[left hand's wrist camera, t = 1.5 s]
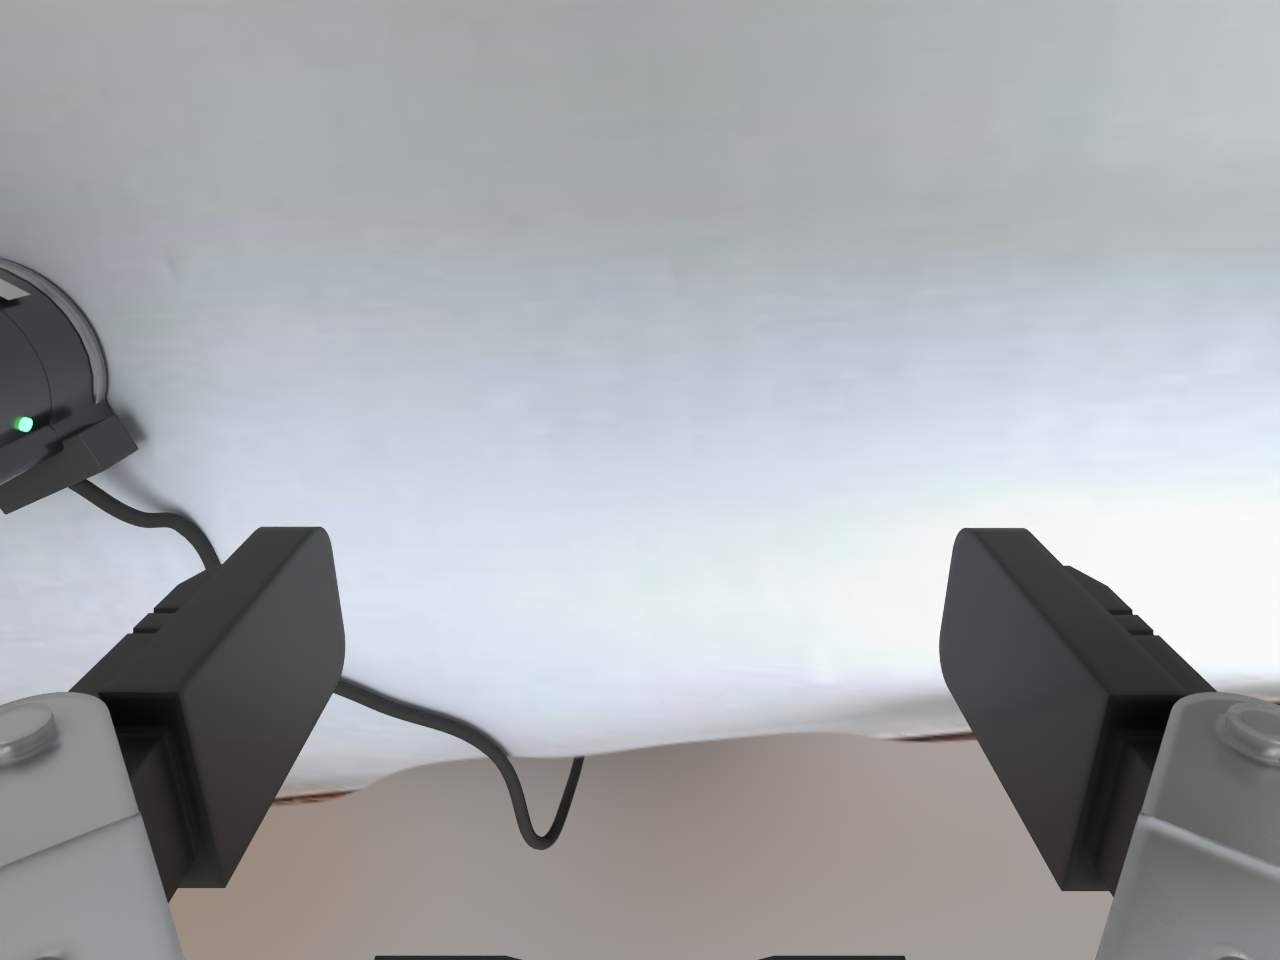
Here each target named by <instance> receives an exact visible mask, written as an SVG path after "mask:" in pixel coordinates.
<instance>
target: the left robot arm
mask: <svg viewBox="0 0 1280 960" xmlns="http://www.w3.org/2000/svg"><path fill="white" fill-rule="evenodd" d="M939 653H940V663H941V668H942V673H943V677H944V680H945V682H946V684H947V687H948V688H949V690H950V692H951V694H952V696H953V697H954V699H955V701H956V703H957V705H958V706H959V708H960V710H961V712H962V713H963V715H964V717H965V719H966V721H967V722H968V724H969V726H970V728H971V730H972V731H973V733H974V735H975V737H976V739H977V740H978V742H979V744H980V746H981V748H982V749H983V751H984V753H985V755H986V756H987V758H988V760H989V762H990V764H991V765H992V767H993V769H994V771H995V773H996V774H997V776H998V778H999V780H1000V781H1001V783H1002V785H1003V787H1004V789H1005V790H1006V792H1007V794H1008V796H1009V798H1010V799H1011V801H1012V803H1013V805H1014V806H1015V808H1016V810H1017V812H1018V814H1019V816H1020V817H1021V819H1022V821H1023V823H1024V824H1025V826H1026V828H1027V830H1028V832H1029V833H1030V835H1031V837H1032V839H1033V841H1034V842H1035V844H1036V846H1037V848H1038V849H1039V851H1040V853H1041V855H1042V857H1043V858H1044V860H1045V862H1046V864H1047V866H1048V867H1049V869H1050V871H1051V873H1052V875H1053V876H1054V878H1055V880H1056V882H1057V883H1058V885H1059V887H1060V889H1061V890H1062V891H1110V893H1111V894H1112V896H1113V897H1114V899H1113V902H1112V905H1111V909H1110V912H1109V915H1108V919H1107V922H1106V925H1105V929H1104V932H1103V935H1102V939H1101V942H1100V945H1099V949H1098V952H1097V955H1096V959H1095V960H1280V706H1279V705H1276V704H1274V703H1271V702H1268V701H1264V700H1261V699H1257V698H1253V697H1249V696H1244V695H1239V694H1231V693H1223V692H1217V691H1216V690H1215V689H1214V688H1213V687H1212V686H1211V685H1210V684H1209V683H1208V682H1207V681H1206V680H1204V679H1203V678H1202V677H1201V676H1200V675H1199V674H1198V673H1197V672H1196V671H1195V670H1194V669H1193V668H1192V667H1191V666H1190V665H1189V664H1188V663H1187V662H1186V661H1185V660H1184V659H1183V658H1182V657H1181V656H1180V655H1179V654H1177V653H1176V652H1175V651H1174V650H1173V649H1172V648H1171V647H1170V646H1169V645H1168V644H1167V643H1166V642H1165V641H1164V640H1163V639H1162V638H1161V637H1160V636H1159V635H1153V629H1151V628H1150V627H1149V626H1148V625H1147V624H1146V623H1145V622H1144V621H1143V620H1142V619H1141V618H1140V617H1139V616H1138V615H1133V614H1132V609H1131V608H1130V607H1129V606H1128V605H1127V604H1126V603H1124V602H1123V601H1122V600H1121V599H1120V598H1119V597H1118V596H1117V595H1116V594H1115V593H1114V592H1113V591H1112V590H1111V589H1110V588H1109V587H1108V586H1106V585H1104V584H1102V583H1101V582H1099V581H1097V580H1095V579H1093V578H1091V577H1089V576H1088V575H1086V574H1084V573H1082V572H1080V571H1078V570H1076V569H1075V568H1073V567H1071V566H1063V565H1062V564H1061V563H1060V562H1059V561H1058V560H1057V559H1056V558H1055V557H1054V556H1053V555H1052V554H1051V553H1050V552H1049V551H1048V550H1047V549H1046V548H1045V547H1044V546H1043V545H1042V544H1041V543H1040V542H1039V541H1038V540H1037V539H1036V538H1035V537H1034V536H1033V535H1032V534H1031V533H1030V532H1029V531H1028V530H1027V529H1025V528H963V529H962V530H961V531H960V532H959V533H958V535H957V537H956V539H955V542H954V546H953V552H952V558H951V565H950V571H949V578H948V585H947V591H946V598H945V604H944V611H943V618H942V624H941V631H940V640H939ZM344 658H345V633H344V626H343V619H342V612H341V606H340V599H339V592H338V586H337V579H336V572H335V565H334V559H333V552H332V546H331V542H330V538H329V536H328V534H327V532H326V530H325V529H324V528H322V527H260V528H258V529H257V530H256V531H255V532H254V533H253V534H252V535H251V536H250V537H249V538H248V539H247V540H246V541H245V542H244V543H243V544H242V545H241V546H240V547H239V548H238V549H237V550H236V551H235V552H234V553H233V554H232V555H231V556H230V557H229V558H228V559H227V560H226V561H225V562H224V563H223V564H216V565H214V566H212V567H210V568H208V569H206V570H205V571H203V572H201V573H199V574H197V575H195V576H193V577H192V578H190V579H188V580H186V581H184V582H182V583H180V584H179V585H177V586H176V587H175V588H174V589H173V590H172V591H171V592H170V593H169V594H168V595H167V596H166V597H165V598H164V599H163V600H162V601H161V602H160V603H159V604H158V605H157V606H156V607H155V608H154V613H149V614H148V615H147V616H145V617H144V618H143V619H142V620H141V621H140V622H139V623H138V624H137V625H136V626H135V627H134V628H133V634H127V635H126V636H125V637H124V638H123V639H122V640H121V641H120V642H119V643H118V644H117V645H116V646H115V647H114V648H113V649H111V650H110V651H109V652H108V653H107V654H106V655H105V656H104V657H103V658H102V659H101V660H100V661H99V662H98V663H97V664H96V665H95V666H94V667H93V668H92V669H91V670H90V671H89V672H88V673H87V674H86V675H85V676H84V677H83V678H82V679H81V680H80V681H79V682H78V683H76V684H75V685H74V686H73V687H72V688H71V689H70V690H69V691H68V692H57V693H49V694H41V695H36V696H31V697H27V698H23V699H19V700H16V701H12V702H9V703H6V704H4V705H1V706H0V960H185V959H184V955H183V952H182V949H181V946H180V942H179V939H178V936H177V932H176V929H175V925H174V922H173V919H172V915H171V912H170V909H169V905H168V903H169V901H170V900H171V898H172V896H173V895H174V893H175V892H176V890H177V888H225V887H226V885H227V884H228V882H229V880H230V878H231V876H232V875H233V873H234V871H235V869H236V867H237V866H238V864H239V862H240V860H241V858H242V856H243V855H244V853H245V851H246V849H247V847H248V846H249V844H250V842H251V840H252V838H253V837H254V835H255V833H256V831H257V829H258V827H259V826H260V824H261V822H262V820H263V818H264V817H265V815H266V813H267V811H268V809H269V808H270V806H271V804H272V802H273V800H274V798H275V797H276V795H277V793H278V791H279V789H280V788H281V786H282V784H283V782H284V780H285V779H286V777H287V775H288V773H289V771H290V770H291V768H292V766H293V764H294V762H295V760H296V759H297V757H298V755H299V753H300V751H301V750H302V748H303V746H304V744H305V742H306V741H307V739H308V737H309V735H310V733H311V731H312V730H313V728H314V726H315V724H316V722H317V721H318V719H319V717H320V715H321V713H322V712H323V710H324V708H325V706H326V704H327V702H328V701H329V699H330V697H331V695H332V693H333V692H334V690H335V688H336V686H337V684H338V682H339V680H340V677H341V673H342V670H343V664H344ZM374 960H521V959H517V958H512V957H508V956H375V959H374ZM759 960H906V959H905V956H772V957H768V958H764V959H759Z"/></svg>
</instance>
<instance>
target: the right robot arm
mask: <svg viewBox="0 0 1280 960" xmlns="http://www.w3.org/2000/svg"><path fill="white" fill-rule="evenodd" d="M105 394H106V370H105V364H104V359H103V355H102V352H101V349H100V346H99V344H98V341H97V339H96V337H95V335H94V333H93V331H92V329H91V327H90V326H89V324H88V322H87V321H86V319H85V318H84V316H83V315H82V314H81V312H80V311H79V310H78V309H77V307H76V306H75V305H74V304H73V303H72V302H71V301H70V300H69V299H68V298H67V297H66V296H65V295H64V294H63V293H62V292H61V291H60V290H59V289H58V288H56V287H55V286H54V285H53V284H51V283H50V282H49V281H47V280H46V279H44V278H43V277H41V276H39V275H38V274H36V273H35V272H33V271H31V270H29V269H27V268H25V267H23V266H20V265H18V264H15V263H13V262H10V261H6V260H3V259H0V508H1V510H2V511H3V512H4V514H8V513H11V512H13V511H15V510H17V509H20V508H22V507H24V506H26V505H29V504H31V503H33V502H35V501H37V500H40V499H42V498H44V497H46V496H49V495H51V494H53V493H55V492H58V491H60V490H62V489H64V488H67V487H69V488H70V489H71V490H73V491H75V492H76V493H78V494H80V495H81V496H83V497H84V498H86V499H87V500H89V501H90V502H92V503H93V504H94V505H96V506H97V507H99V508H100V509H102V510H104V511H105V512H107V513H109V514H110V515H112V516H114V517H116V518H118V519H120V520H122V521H124V522H127V523H129V524H132V525H135V526H139V527H144V528H158V527H168V528H172V529H174V530H176V531H177V532H178V533H180V534H181V535H182V536H184V537H185V538H186V539H187V540H188V541H189V542H190V543H191V544H192V545H193V547H194V548H195V549H196V551H197V552H198V554H199V556H200V558H201V559H202V561H203V563H204V566H205V568H206V569H208V568H210V567H212V566H214V565H216V564H220V563H219V561H218V558H217V556H216V554H215V552H214V550H213V548H212V546H211V545H210V543H209V542H208V540H207V539H206V537H205V536H204V535H203V534H202V533H201V532H200V531H199V530H198V528H197V527H196V526H194V525H193V524H192V523H190V522H189V521H188V520H186V519H185V518H184V517H182V516H180V515H177V514H173V513H146V512H142V511H139V510H136V509H134V508H131V507H129V506H127V505H125V504H123V503H122V502H120V501H118V500H117V499H115V498H113V497H112V496H110V495H109V494H107V493H106V492H105V491H103V490H102V489H100V488H99V487H97V486H96V485H94V484H93V483H91V482H90V481H88V480H87V478H89V477H91V476H94V475H96V474H98V473H100V472H102V471H105V470H106V469H108V468H109V467H111V466H113V465H114V464H116V463H117V462H119V461H121V460H122V459H124V458H125V457H127V456H129V455H130V454H132V453H133V452H135V451H137V450H138V447H137V446H136V444H135V443H134V441H133V440H132V438H131V437H130V435H129V434H128V432H127V431H126V430H125V428H124V427H123V425H122V424H121V422H120V421H119V419H118V418H117V416H116V415H114V414H113V413H112V411H111V410H110V409H109V407H108V405H107V403H106V401H105ZM333 693H335V694H338V695H340V696H343V697H345V698H348V699H350V700H353V701H355V702H358V703H360V704H362V705H364V706H367V707H369V708H371V709H374V710H376V711H378V712H381V713H384V714H386V715H389V716H392V717H395V718H398V719H401V720H405V721H408V722H412V723H415V724H419V725H422V726H426V727H429V728H433V729H436V730H439V731H442V732H445V733H448V734H451V735H453V736H456V737H458V738H460V739H462V740H464V741H466V742H468V743H470V744H472V745H473V746H475V747H476V748H478V749H479V750H481V751H482V752H483V753H484V754H486V755H487V756H488V757H489V758H490V759H491V760H492V761H493V762H494V763H495V764H496V766H497V767H498V769H499V770H500V772H501V774H502V775H503V777H504V779H505V782H506V784H507V787H508V790H509V793H510V796H511V799H512V803H513V807H514V811H515V815H516V819H517V823H518V826H519V829H520V832H521V834H522V836H523V838H524V840H525V841H526V843H527V844H528V845H529V846H530V847H532V848H534V849H538V850H544V849H547V848H549V847H550V846H552V845H553V844H554V843H555V842H556V840H557V839H558V837H559V835H560V833H561V831H562V829H563V826H564V824H565V821H566V818H567V815H568V812H569V809H570V806H571V803H572V800H573V797H574V793H575V790H576V787H577V783H578V780H579V777H580V774H581V770H582V765H583V761H584V757H585V756H576V757H574V760H573V764H572V767H571V771H570V775H569V778H568V781H567V784H566V787H565V790H564V793H563V796H562V799H561V802H560V805H559V808H558V811H557V813H556V816H555V819H554V821H553V824H552V826H551V828H550V829H549V831H548V832H547V834H546V835H545V836H543V837H540V836H538V835H537V834H536V833H535V832H534V830H533V827H532V824H531V821H530V818H529V814H528V810H527V805H526V802H525V798H524V794H523V791H522V787H521V784H520V782H519V779H518V777H517V774H516V772H515V770H514V768H513V766H512V765H511V763H510V762H509V760H508V759H507V757H506V756H505V755H504V754H503V753H502V751H501V750H500V749H499V748H498V747H497V746H495V745H494V744H493V743H492V742H491V741H489V740H488V739H487V738H485V737H484V736H482V735H481V734H479V733H478V732H476V731H474V730H472V729H470V728H468V727H466V726H464V725H462V724H460V723H457V722H454V721H452V720H449V719H446V718H443V717H440V716H436V715H433V714H429V713H426V712H422V711H419V710H415V709H412V708H409V707H405V706H402V705H399V704H396V703H393V702H391V701H388V700H385V699H383V698H381V697H378V696H376V695H374V694H371V693H369V692H367V691H365V690H362V689H360V688H357V687H355V686H353V685H350V684H348V683H345V682H342V681H340V680H339V682H338V684H337V686H336V688H335V690H334V692H333Z"/></svg>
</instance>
